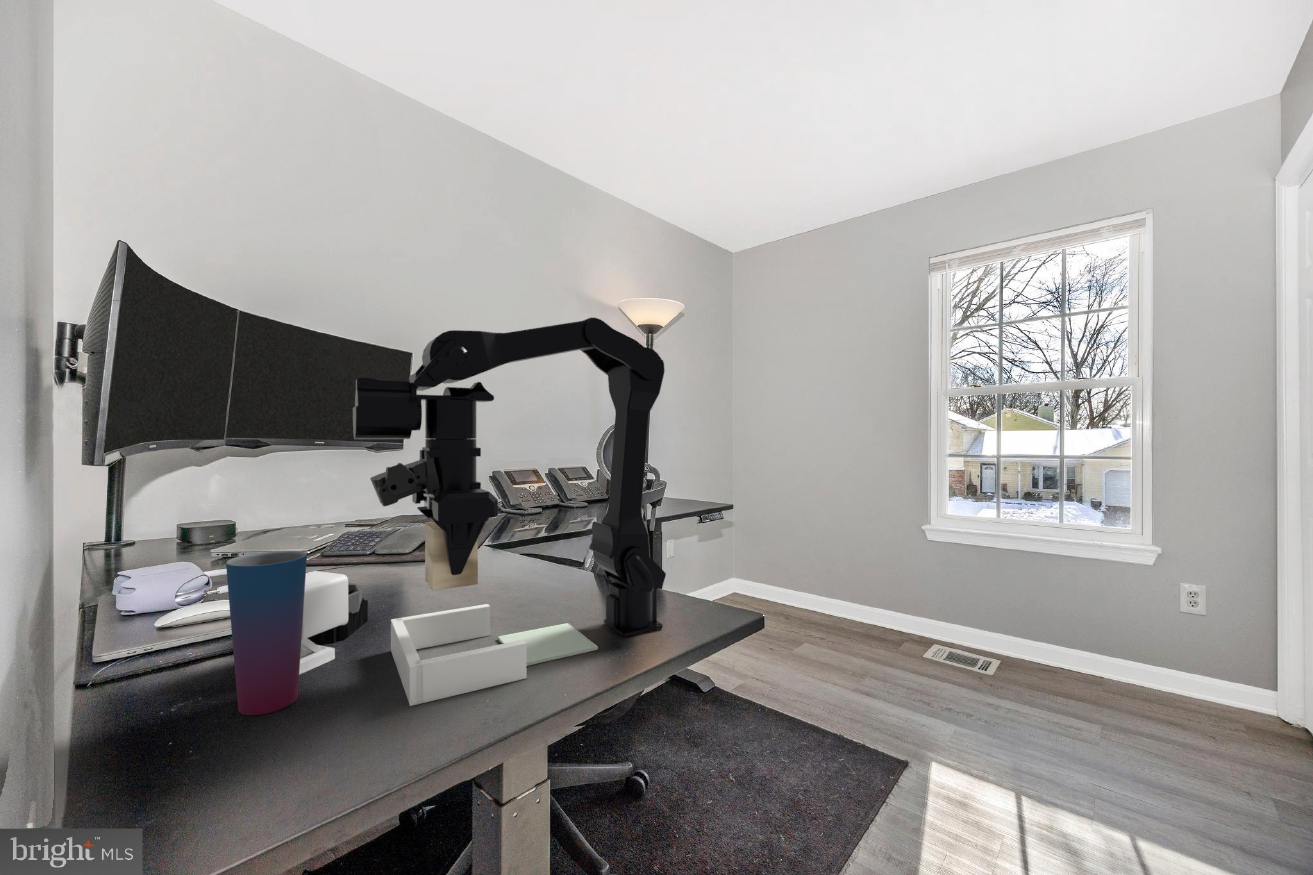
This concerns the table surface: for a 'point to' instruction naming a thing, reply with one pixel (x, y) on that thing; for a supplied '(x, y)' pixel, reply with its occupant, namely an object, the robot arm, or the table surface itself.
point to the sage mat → (551, 643)
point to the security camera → (322, 615)
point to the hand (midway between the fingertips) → (451, 569)
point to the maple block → (446, 562)
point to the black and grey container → (355, 618)
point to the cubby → (452, 655)
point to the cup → (266, 627)
